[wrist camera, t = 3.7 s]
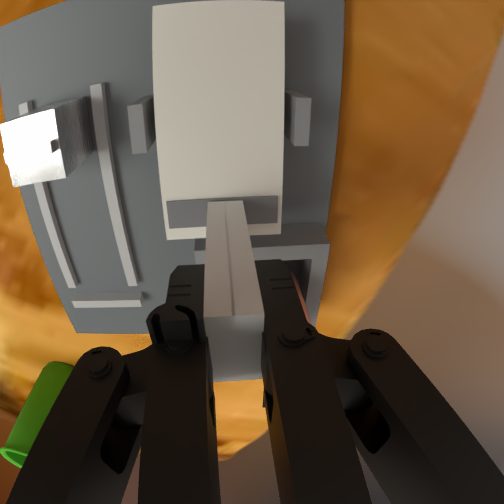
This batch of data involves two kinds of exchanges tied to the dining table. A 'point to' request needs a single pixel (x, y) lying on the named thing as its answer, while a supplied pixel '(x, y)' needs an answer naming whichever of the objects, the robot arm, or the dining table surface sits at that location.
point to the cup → (35, 412)
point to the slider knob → (47, 142)
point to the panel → (146, 159)
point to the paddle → (219, 111)
